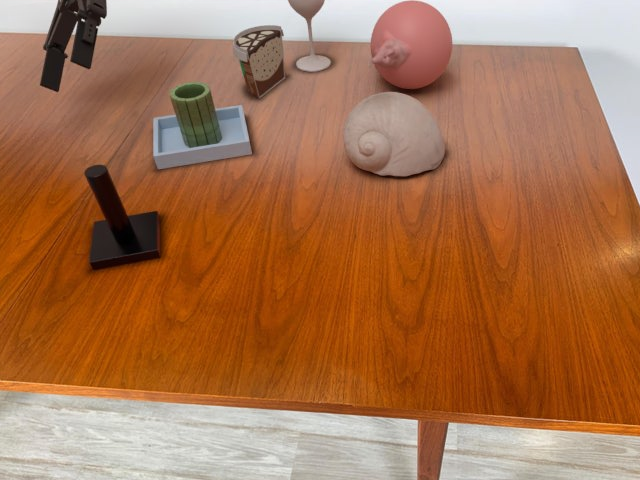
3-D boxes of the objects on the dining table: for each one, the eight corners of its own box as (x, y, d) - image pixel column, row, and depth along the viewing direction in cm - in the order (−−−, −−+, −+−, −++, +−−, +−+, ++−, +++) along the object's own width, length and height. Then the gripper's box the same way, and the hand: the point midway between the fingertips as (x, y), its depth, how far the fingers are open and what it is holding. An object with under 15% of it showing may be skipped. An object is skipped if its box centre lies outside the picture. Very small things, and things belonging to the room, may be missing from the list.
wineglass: (304, 53, 125) (291, -55, 110) (337, 58, 123) (328, -52, 108) (289, 69, 120) (273, -43, 105) (322, 74, 118) (312, -39, 103)
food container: (264, 69, 121) (255, 19, 113) (289, 74, 119) (282, 25, 111) (228, 95, 113) (217, 44, 106) (254, 102, 111) (244, 51, 104)
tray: (157, 169, 96) (153, 156, 94) (157, 130, 105) (153, 117, 103) (252, 154, 99) (249, 141, 97) (244, 117, 107) (241, 104, 105)
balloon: (340, 98, 112) (334, 15, 101) (402, 59, 122) (402, -19, 111) (405, 122, 105) (405, 37, 94) (464, 80, 116) (471, -1, 105)
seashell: (356, 182, 104) (322, 150, 90) (383, 111, 105) (353, 67, 91) (434, 204, 99) (410, 172, 85) (461, 128, 100) (442, 85, 86)
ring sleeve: (185, 152, 99) (170, 103, 92) (183, 132, 103) (169, 84, 96) (223, 145, 100) (211, 97, 93) (220, 127, 104) (208, 79, 97)
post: (93, 270, 80) (54, 197, 71) (97, 229, 86) (62, 157, 77) (160, 257, 81) (130, 184, 72) (160, 218, 87) (132, 146, 78)
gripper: (144, -64, 89) (121, 65, 86) (82, -4, 106) (61, 105, 103) (94, -96, 83) (67, 40, 80) (37, -28, 100) (13, 87, 97)
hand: (64, 77), depth 91 cm, fingers open, 13 cm apart
